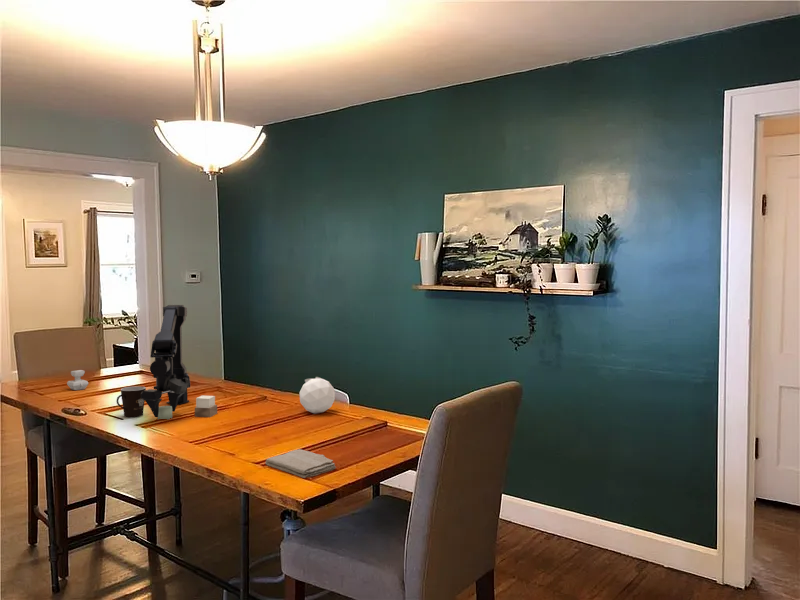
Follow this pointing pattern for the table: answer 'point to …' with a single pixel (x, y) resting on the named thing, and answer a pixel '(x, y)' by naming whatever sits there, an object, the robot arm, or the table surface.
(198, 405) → the tower top block
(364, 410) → the table surface
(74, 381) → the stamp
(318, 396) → the geodesic sphere
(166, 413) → the grey domed cylinder
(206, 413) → the tower base block
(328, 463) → the washcloth
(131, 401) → the coffee mug
